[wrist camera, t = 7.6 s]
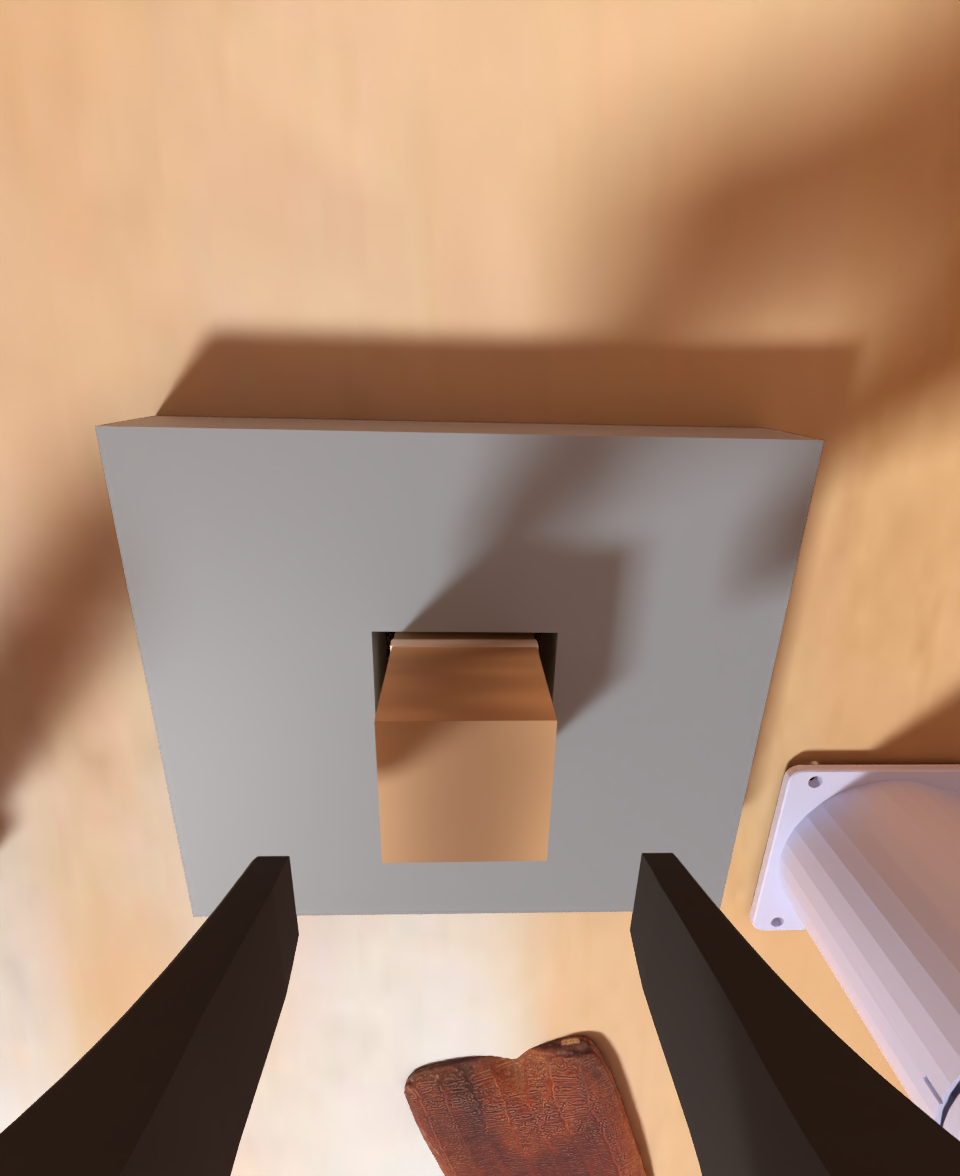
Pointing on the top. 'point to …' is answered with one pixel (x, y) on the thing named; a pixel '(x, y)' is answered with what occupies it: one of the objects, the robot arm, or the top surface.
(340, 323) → the top surface
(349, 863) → the slate board
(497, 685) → the oak peg
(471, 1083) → the wooden tablet
